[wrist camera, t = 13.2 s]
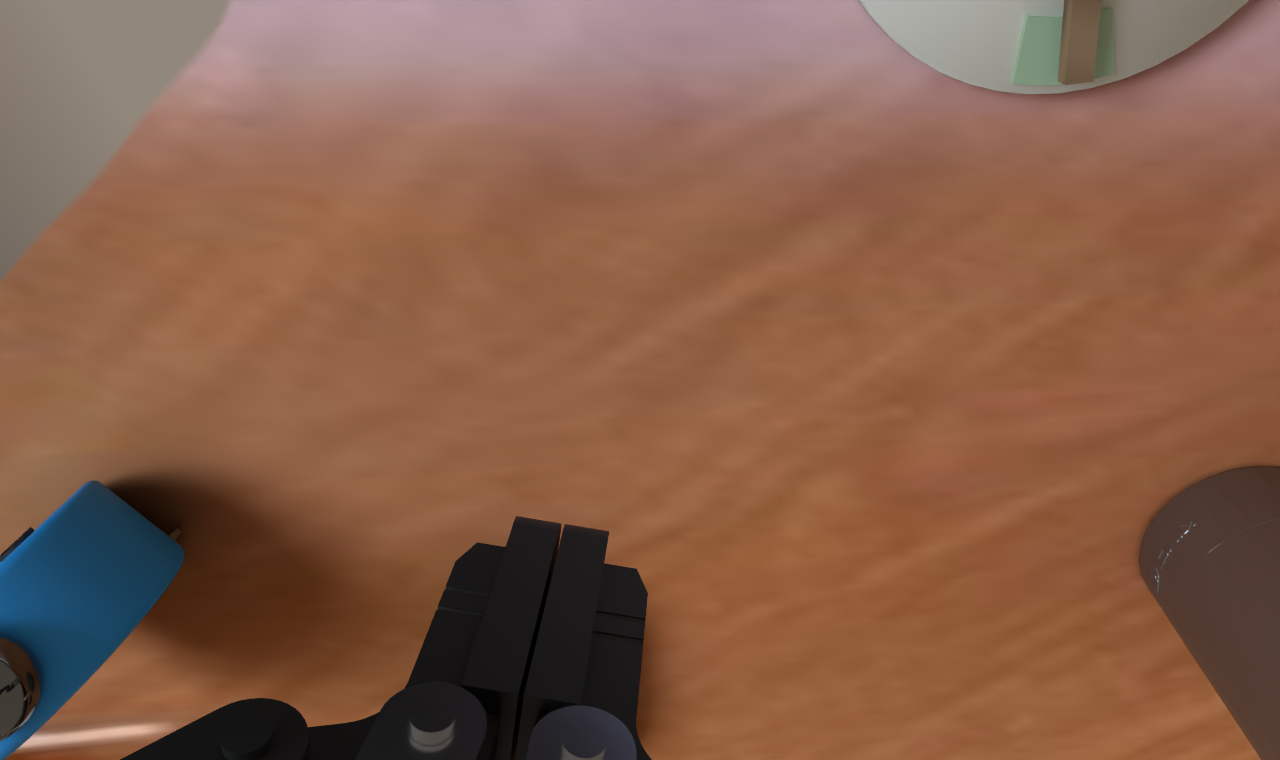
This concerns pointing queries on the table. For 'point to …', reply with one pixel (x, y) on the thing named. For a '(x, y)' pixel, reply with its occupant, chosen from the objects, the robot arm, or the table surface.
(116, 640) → the alarm clock
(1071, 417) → the table surface
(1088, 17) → the dial
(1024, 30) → the plate
